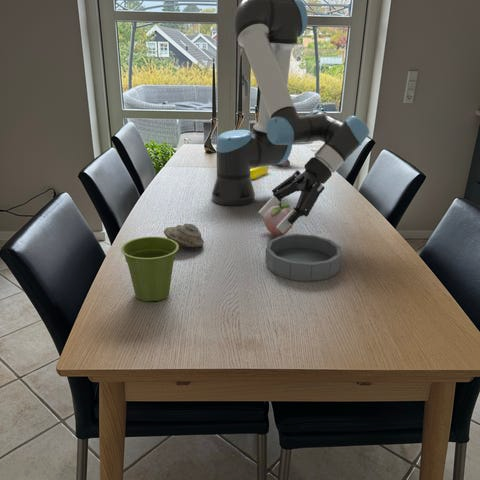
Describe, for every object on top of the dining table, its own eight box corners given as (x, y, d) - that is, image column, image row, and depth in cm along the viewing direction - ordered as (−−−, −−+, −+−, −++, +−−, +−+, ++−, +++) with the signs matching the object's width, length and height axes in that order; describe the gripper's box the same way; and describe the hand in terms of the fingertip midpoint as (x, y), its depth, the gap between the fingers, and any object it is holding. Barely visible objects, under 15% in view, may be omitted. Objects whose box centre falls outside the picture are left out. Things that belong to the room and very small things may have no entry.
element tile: (269, 173, 200) (270, 162, 198) (251, 181, 188) (251, 169, 186) (240, 168, 207) (240, 158, 205) (220, 175, 195) (220, 164, 194)
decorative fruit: (270, 228, 139) (272, 196, 135) (297, 233, 135) (299, 200, 132) (258, 239, 131) (258, 205, 127) (285, 244, 128) (287, 209, 124)
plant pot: (171, 311, 95) (168, 261, 91) (116, 305, 97) (111, 255, 93) (187, 284, 106) (185, 238, 102) (137, 279, 108) (133, 234, 103)
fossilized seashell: (172, 244, 117) (173, 217, 119) (156, 250, 126) (157, 225, 128) (209, 248, 123) (210, 223, 124) (191, 255, 132) (192, 230, 133)
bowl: (261, 277, 109) (262, 260, 108) (270, 247, 126) (271, 232, 124) (339, 285, 106) (341, 267, 105) (338, 253, 123) (340, 237, 121)
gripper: (354, 185, 121) (297, 246, 122) (310, 164, 142) (262, 216, 143) (338, 166, 117) (279, 229, 118) (295, 147, 138) (246, 201, 139)
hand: (270, 222), depth 131 cm, fingers open, 12 cm apart
